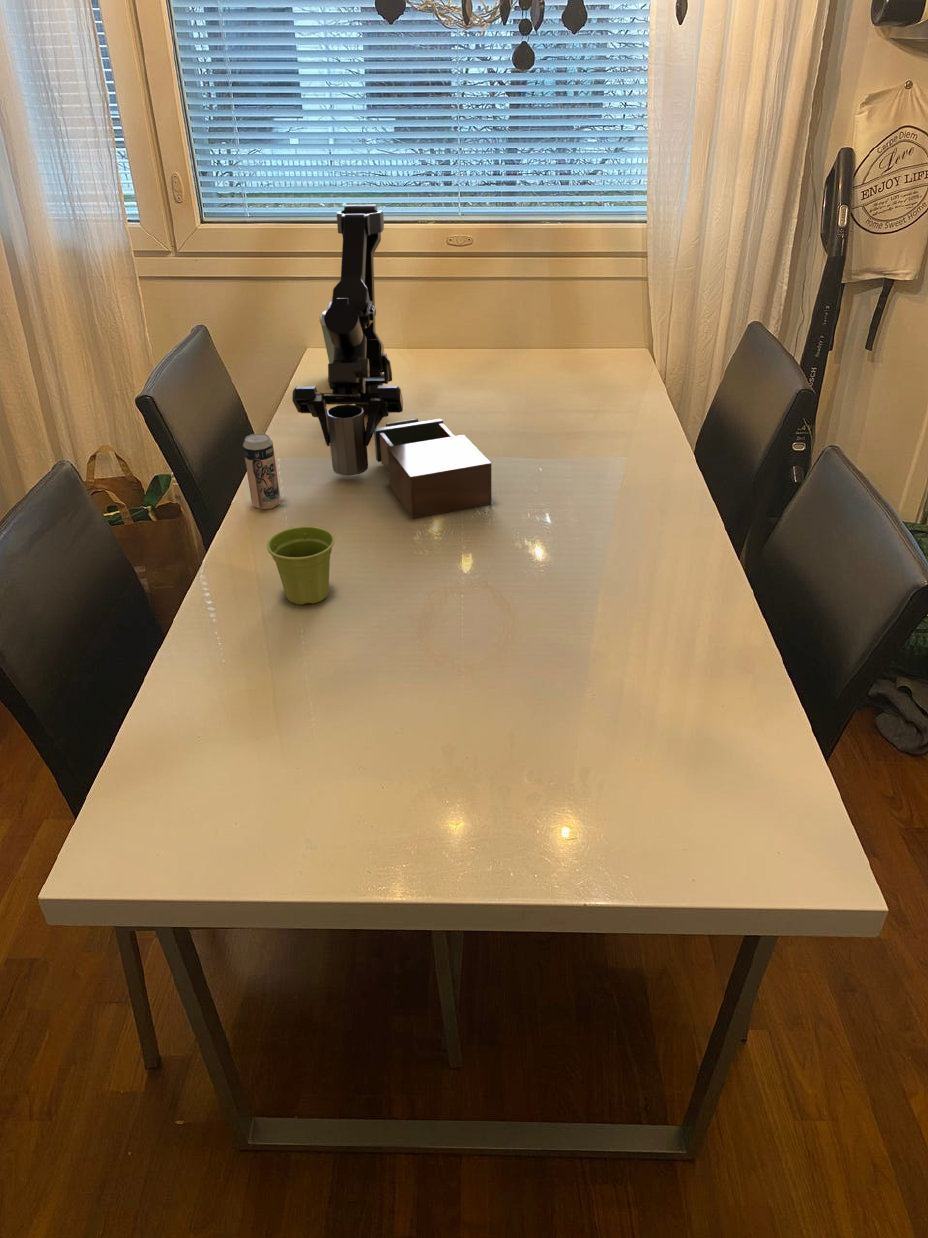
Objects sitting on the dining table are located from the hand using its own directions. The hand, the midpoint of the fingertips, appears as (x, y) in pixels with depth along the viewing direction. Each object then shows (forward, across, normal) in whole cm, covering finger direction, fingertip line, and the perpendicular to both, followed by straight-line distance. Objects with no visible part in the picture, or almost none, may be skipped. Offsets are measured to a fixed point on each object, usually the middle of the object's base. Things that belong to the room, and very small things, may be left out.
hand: (347, 445), depth 167 cm
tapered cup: (+2, 0, +4) cm, 5 cm away
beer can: (+12, -13, -2) cm, 17 cm away
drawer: (0, +11, +8) cm, 14 cm away
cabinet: (+9, +16, 0) cm, 19 cm away
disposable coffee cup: (-33, -7, +42) cm, 54 cm away
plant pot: (+32, -1, -22) cm, 39 cm away
